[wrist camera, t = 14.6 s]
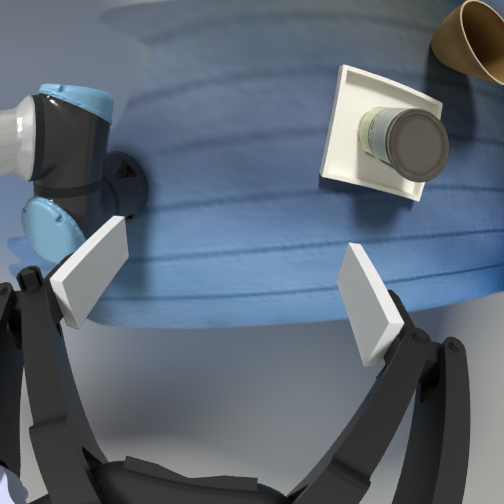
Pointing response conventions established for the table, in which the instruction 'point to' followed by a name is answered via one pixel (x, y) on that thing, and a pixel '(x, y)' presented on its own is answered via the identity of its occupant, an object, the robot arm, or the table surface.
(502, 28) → the plant pot
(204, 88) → the table surface
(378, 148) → the coffee can
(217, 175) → the table surface
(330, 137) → the tray
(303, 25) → the table surface
